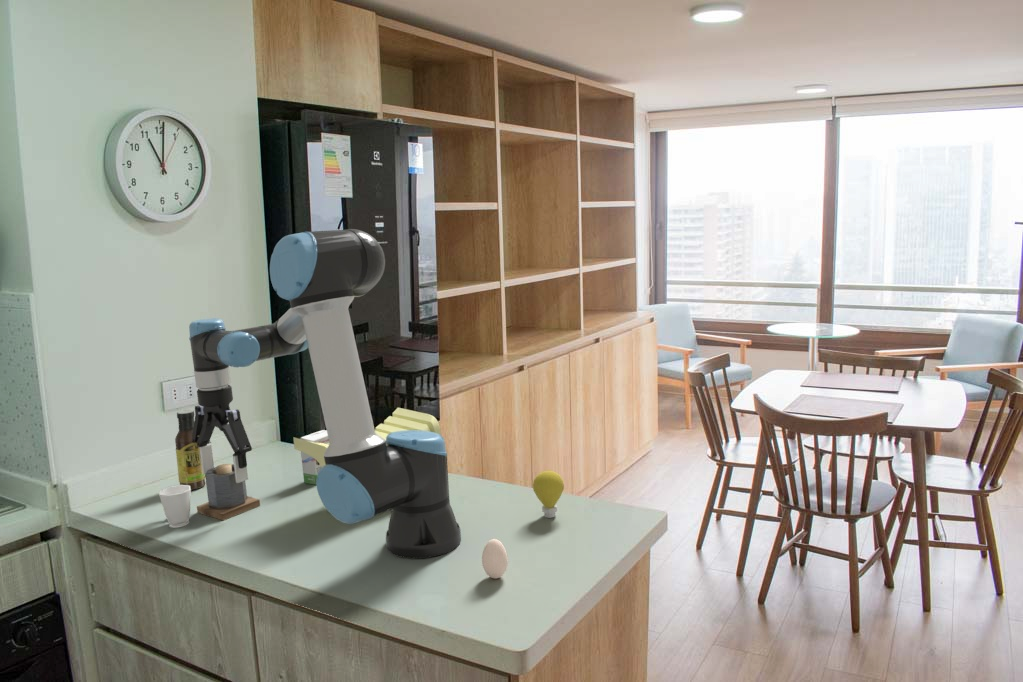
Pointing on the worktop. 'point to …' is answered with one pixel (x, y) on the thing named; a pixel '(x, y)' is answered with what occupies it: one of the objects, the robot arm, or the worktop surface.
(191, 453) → the sauce bottle
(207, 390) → the robot arm
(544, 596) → the worktop surface
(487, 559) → the egg
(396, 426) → the slatted curved stool
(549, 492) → the light bulb
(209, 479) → the grey hollow octagonal piece
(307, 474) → the ink box
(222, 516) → the post
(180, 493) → the cup
